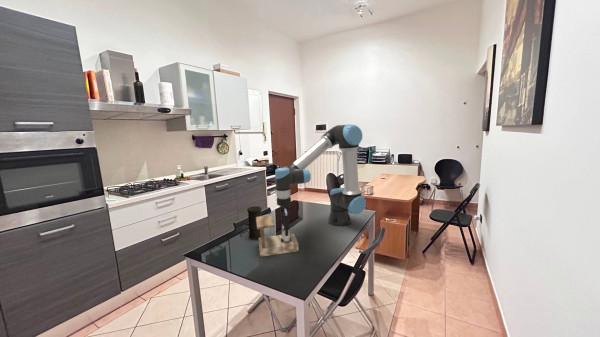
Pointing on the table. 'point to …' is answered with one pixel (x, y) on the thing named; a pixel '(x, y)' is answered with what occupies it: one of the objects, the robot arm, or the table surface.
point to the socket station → (274, 239)
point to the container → (254, 222)
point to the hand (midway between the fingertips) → (285, 238)
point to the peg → (283, 234)
